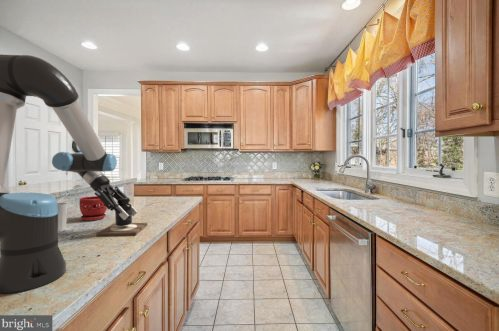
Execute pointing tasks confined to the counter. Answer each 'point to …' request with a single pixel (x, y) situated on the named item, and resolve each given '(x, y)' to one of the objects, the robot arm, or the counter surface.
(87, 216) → the plant pot
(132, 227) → the walnut board
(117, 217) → the supplement bottle
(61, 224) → the cup
